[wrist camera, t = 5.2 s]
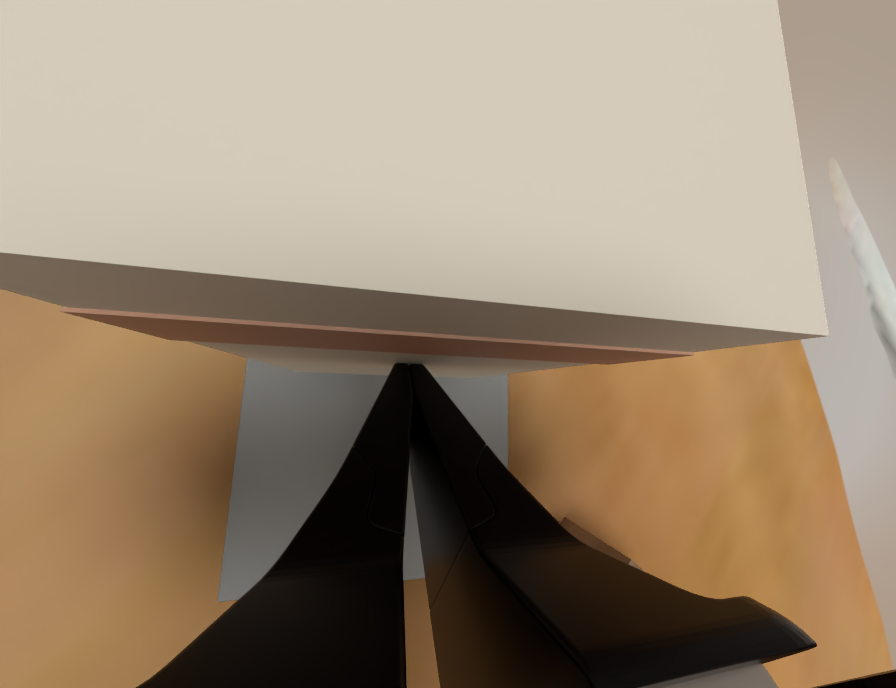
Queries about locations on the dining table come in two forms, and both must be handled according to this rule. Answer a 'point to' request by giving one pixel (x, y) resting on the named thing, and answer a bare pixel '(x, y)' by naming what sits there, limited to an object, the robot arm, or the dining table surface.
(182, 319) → the carton
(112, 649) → the dining table surface
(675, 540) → the dining table surface
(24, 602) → the dining table surface
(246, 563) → the podium
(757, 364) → the dining table surface
